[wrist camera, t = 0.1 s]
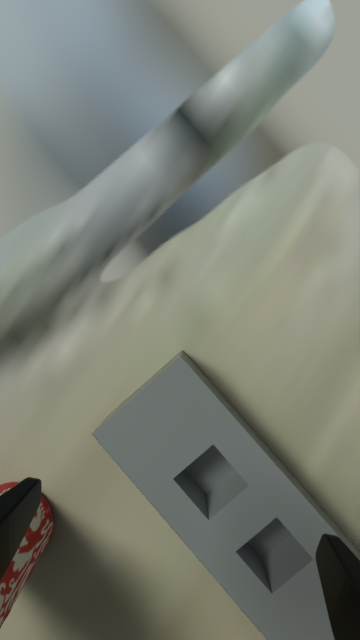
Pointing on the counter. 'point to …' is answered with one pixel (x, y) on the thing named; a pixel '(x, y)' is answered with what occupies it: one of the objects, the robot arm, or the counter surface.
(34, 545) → the mug
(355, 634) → the robot arm
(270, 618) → the rail
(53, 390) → the counter surface
